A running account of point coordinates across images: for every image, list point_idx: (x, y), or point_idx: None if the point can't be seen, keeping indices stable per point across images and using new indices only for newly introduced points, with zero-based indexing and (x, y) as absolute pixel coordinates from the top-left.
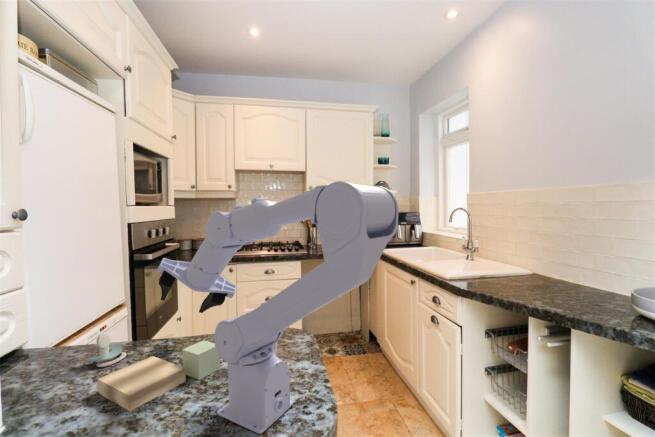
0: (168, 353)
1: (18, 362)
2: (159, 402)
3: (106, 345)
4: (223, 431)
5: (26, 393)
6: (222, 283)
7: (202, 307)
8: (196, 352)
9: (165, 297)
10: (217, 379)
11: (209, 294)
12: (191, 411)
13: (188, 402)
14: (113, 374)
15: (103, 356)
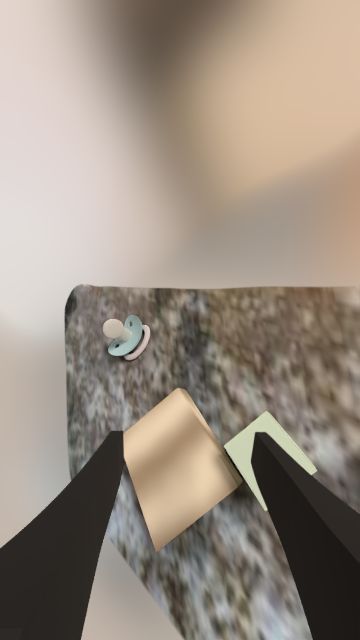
0: (202, 345)
1: (71, 314)
2: (207, 543)
3: (120, 332)
4: None
5: (77, 394)
6: None
7: (266, 495)
8: (258, 490)
9: (114, 500)
10: None
11: (302, 514)
12: None
13: (260, 595)
14: (133, 435)
15: (125, 340)
